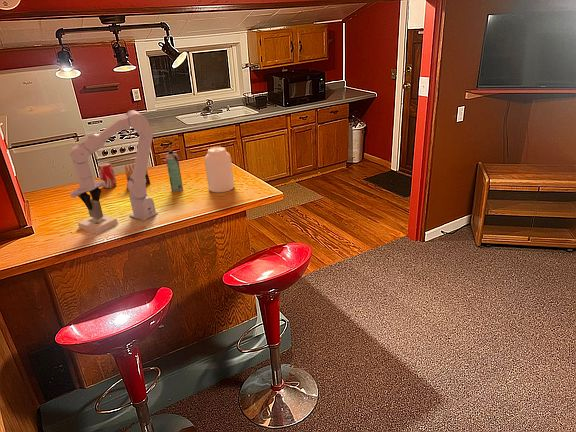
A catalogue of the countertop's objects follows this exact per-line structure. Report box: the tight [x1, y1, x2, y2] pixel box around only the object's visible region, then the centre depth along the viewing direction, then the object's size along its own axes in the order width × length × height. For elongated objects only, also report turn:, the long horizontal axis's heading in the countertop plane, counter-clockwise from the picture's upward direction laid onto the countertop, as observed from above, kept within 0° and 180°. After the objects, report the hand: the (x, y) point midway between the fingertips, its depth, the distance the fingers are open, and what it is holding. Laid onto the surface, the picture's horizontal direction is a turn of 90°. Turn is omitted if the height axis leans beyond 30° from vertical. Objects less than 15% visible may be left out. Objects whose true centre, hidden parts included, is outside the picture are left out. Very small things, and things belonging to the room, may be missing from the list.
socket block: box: [77, 214, 119, 235], centre depth 176 cm, size 12×10×2 cm
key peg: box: [87, 198, 104, 219], centre depth 173 cm, size 3×5×7 cm, turn 58°
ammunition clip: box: [124, 162, 151, 185], centre depth 215 cm, size 11×2×12 cm, turn 114°
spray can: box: [165, 149, 184, 193], centre depth 205 cm, size 6×6×20 cm
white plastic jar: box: [204, 146, 235, 193], centre depth 204 cm, size 12×12×20 cm
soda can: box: [97, 161, 117, 189], centre depth 215 cm, size 7×7×12 cm
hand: (93, 207), depth 173 cm, fingers closed on key peg, 3 cm apart
